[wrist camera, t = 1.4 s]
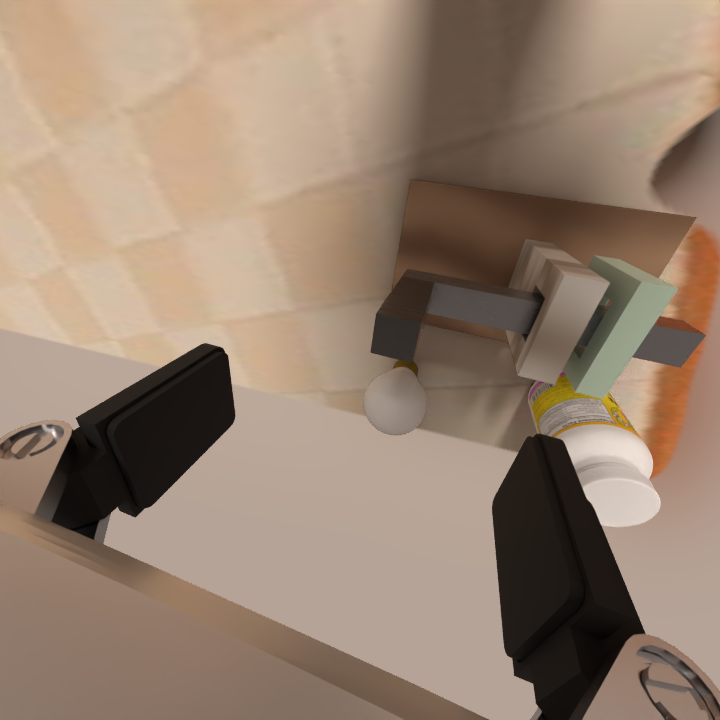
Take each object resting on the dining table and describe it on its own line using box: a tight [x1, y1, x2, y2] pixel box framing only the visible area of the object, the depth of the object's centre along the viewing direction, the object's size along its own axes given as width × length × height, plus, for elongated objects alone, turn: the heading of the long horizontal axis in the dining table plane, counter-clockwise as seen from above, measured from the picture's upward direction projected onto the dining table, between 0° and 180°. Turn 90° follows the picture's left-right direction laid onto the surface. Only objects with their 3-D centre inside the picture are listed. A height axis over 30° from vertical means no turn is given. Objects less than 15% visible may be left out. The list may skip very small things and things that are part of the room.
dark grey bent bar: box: [371, 269, 706, 367], centre depth 16 cm, size 2×16×8 cm, turn 83°
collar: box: [563, 255, 678, 399], centre depth 19 cm, size 6×2×6 cm, turn 173°
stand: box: [392, 180, 696, 384], centre depth 22 cm, size 12×20×13 cm, turn 83°
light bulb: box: [364, 360, 427, 435], centre depth 30 cm, size 6×6×10 cm
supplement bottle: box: [528, 370, 661, 527], centre depth 26 cm, size 7×7×13 cm
